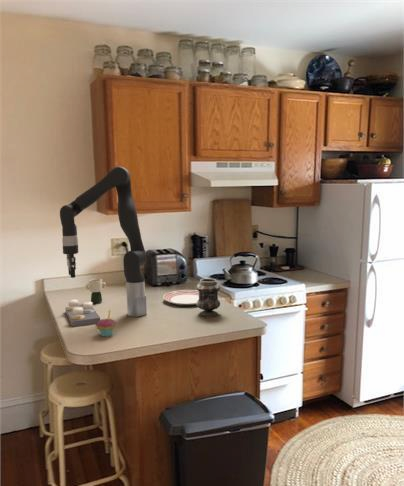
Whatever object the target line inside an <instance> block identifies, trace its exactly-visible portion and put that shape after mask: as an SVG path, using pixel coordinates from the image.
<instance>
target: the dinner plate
mask: <svg viewBox="0 0 404 486" xmlns="http://www.w3.org/2000/svg"><path fill="white" fill-rule="evenodd" d="M162 298H163V300H164V301H166V302H168V303H170V304H174V305H177V306H197V305H196V303H197V301H198V300H199V291H198V290H197V289H181V290H174V291H170V292H166V293H165V294H164V295H163V297H162Z"/></svg>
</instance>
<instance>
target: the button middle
mask: <svg viewBox="0 0 404 486" xmlns="http://www.w3.org/2000/svg"><path fill="white" fill-rule="evenodd" d="M82 305H83V309H91V308H93V309H94V307H93V302H91V301H85V302H82Z"/></svg>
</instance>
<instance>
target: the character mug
mask: <svg viewBox="0 0 404 486" xmlns="http://www.w3.org/2000/svg"><path fill="white" fill-rule="evenodd" d="M106 284H107V283H106V282H103V279H102V278H92V279H89V280H88V283H86V284H85V290H87V291H88V290H89V292H91V296H90V302H92V303H94V304H96V303H97V304H98V303H101V302H102V301H103V297H102V291H103V289H105V288H107V287H106ZM88 286H89V287H88Z"/></svg>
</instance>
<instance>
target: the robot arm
mask: <svg viewBox="0 0 404 486" xmlns="http://www.w3.org/2000/svg"><path fill="white" fill-rule="evenodd" d="M114 188H115V190H116V195H117V215H118V220H119V221H118V222H119V226H120V229H121V230H122V231H123V233H124V234H125V236H126V237H127V240H128V243H129V247H130V250H129V251H127V252H125V254H124V255H123V273H124V277H125V281H126V282H125V285H126V287H125V288H126V312H127V316H128V317H137V318H138V317H141V316H145V315H147V312H148V311H147V309H148V308H147V307H148V306H147V296H146V291H145V281H146V280H145V275H144V274H142V273H141V267H144V265H146V263H147V253H146V250H145V247H144V243H143V240H142V235H141V230H140V225H139V224H140V223H139V218H138V214H137V213H138V211H137V208H136V205H135V201H134V197H133V192H132V181H131V174H130V172H129V170H127V168H125V167H122V166H115V167H114V168H113V167H112V169H111V170H110V171H109V172H108V173H107V174H106V175H105V176H104V177H103V178H102V179H100V180H99V181H98V182H97V183H95V184H94V185H93V186H91V187H90V188H88V189H87V190H86V191H83V192H82V193H81V194H80V195H78V196H76V198H75V200H73V201H72V202H70V203H68V204H65V205H63V206H61V208H60V209H59V218H60V224H61V226H62V229H61V231H62V232H61V233H62V237H61V238H62V239H61V240H62V241H61V243H62V254H63V255H66V265H67V268H68V275H69V276H70V278H72V279H73V278H76V269H77V267H76V266H77V265H76V264H77V262H76V257H75V255H77V254H79V240H78V229H77V228H78V227H77V225H76V224H75V217H77V216H78V215H79V214H80V213H81V212H83V211H84V210H85V209H88V208H89V207H91V205H93V204H94V203H95V202H97V201H98V200H100V198H102V196H104V195H105V194H106V193H107V192H109V191H110V190H112V189H114Z"/></svg>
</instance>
